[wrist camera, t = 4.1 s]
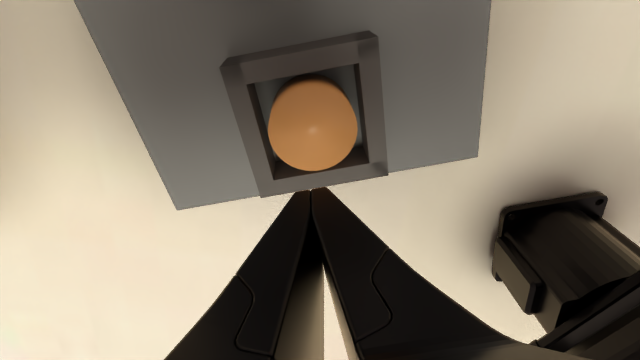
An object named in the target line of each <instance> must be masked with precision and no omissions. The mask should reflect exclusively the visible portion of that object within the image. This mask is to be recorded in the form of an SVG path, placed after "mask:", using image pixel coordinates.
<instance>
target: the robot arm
mask: <svg viewBox="0 0 640 360" xmlns="http://www.w3.org/2000/svg"><path fill="white" fill-rule="evenodd" d="M607 201H608V198H607V196H605V195H604V194H602V193H601V192H594V193H588V194H583V195H577V196H571V197H565V198H559V199H554V200H548V201H542V202H536V203H530V204H524V205H519V206H513V207H508V208H506V209H504V210H503V211H502V212H501V216H500V223H499V230H498V237H497V239H496V241H495V248H494V255H493V263H492V266H493V273H492V275H493V277H494V278H495V280H496V281H503V283H504V284H505V285H506V287H507V288H508V290H509V291H510V293H511V294H512V296H513V297H514V299H515V300H516V302H517V303H518V305H519V306H520V307H521V309H522V310H523V312H525V313H526V314H527V315H532V314H534V315H535V317H536V318H537V320H538V321H539V323H540V324H541V325H542V327H543V328H544V330H545V331H546V332H547V334H546V335H544V336H543V337H541V338H540V339H538V340H536V339H535V340H534V341H532V342H531V343H529V344H525V343H522V342H519V341H516V340H514V339H512V338H510V337H508V336H505V335H503V334H502V333H500V332H498V331H496V330H495V329H493V328H491V327H490V326H489V325H487V324H486V323H484V322H483V321H481V320H480V319H479V318H477V317H476V316H475V315H473V314H472V313H471V312H469V311H468V310H466V309H465V308H464V307H462V306H461V305H460V304H458V303H457V302H456V301H454V300H453V299H451V298H450V297H449V296H447V295H446V294H445V293H443V292H442V291H441V290H439V289H438V288H436V287H435V286H434V285H432V284H431V283H430V282H429V281H427V280H426V279H425V278H423V277H422V276H421V275H419V274H418V273H417V272H416V271H414V270H413V269H412V268H411V267H410V266H409V265H408V264H407V263H405V262H404V261H403V260H402V259H401V258H400V257H399V256H398V255H397V254H396V253H395V252H394V251H393V250H392V249H389V247H388V246H387V245H386V244H385V243H384V242H383V241H382V240H381V239H380V238H379V237H378V236H377V235H376V234H375V233H374V232H373V231H372V230H371V229H369V228H368V227H367V226H366V225H365V224H364V223H363V222H362V221H361V220H360V219H359V218H358V217H357V216H356V215H355V214H354V213H353V212H352V211H351V210H350V209H349V208H348V207H347V206H345V205H344V204H343V203H342V202H341V201H340V200H339V199H338V198H337V197H336V196H335V195H334V194H333V193H332V192H331V191H330V190H329V189H328V188H327V187H321V188H315V189H312V190H311V191H310V190H304V191H298V192H295V193H294V194H293V196H292V197H291V199H290V200H289V201H288V203H287V204H286V205H285V207H284V208H283V210H282V211H281V212H280V214H279V215H278V216H277V218H276V219H275V221H274V222H273V223H272V225H271V226H270V227H269V229H268V230H267V231H266V233H265V234H264V236H263V237H262V238H261V240H260V241H259V242H258V244H257V245H256V247H255V248H254V249H253V251H252V252H251V253H250V255H249V256H248V257H247V259H246V260H245V262H244V263H243V264H242V266H241V267H240V268H239V270H238V271H237V273H236V275H235V276H233V278H232V279H231V281H230V282H229V283H228V285H227V286H226V287H225V289H224V290H223V291H222V293H221V294H220V295H219V296H218V298H217V299H216V300H215V302H214V303H213V304H212V305H211V307H210V308H209V309H208V310H207V311H206V312H205V314H204V315H203V316H202V317H201V318H200V320H199V321H198V322H197V323H196V324H195V325H194V326H193V328H192V329H191V330H190V331H189V332H188V333H187V334H186V335H185V337H184V338H183V339H182V340H181V341H180V342H179V343H178V344H177V346H176V347H175V348H174V349H173V350H172V351H171V352H170V353H169V355H168V356H167V357H166V358H165V359H164V360H324V270H325V274H326V278H327V282H328V286H329V289H330V293H331V297H332V300H333V304H334V307H335V311H336V315H337V318H338V322H339V325H340V329H341V333H342V336H343V340H344V344H345V347H346V351H347V354H348V358H349V360H640V247H639V246H637V245H636V244H635V243H634V242H632V241H631V240H630V239H628V238H627V237H626V236H625V235H623V234H622V233H621V232H620V231H618V230H617V229H616V228H614V227H613V226H612V225H611V224H609V223H608V222H607V221H605V220H604V219H603V218H602V215H603V212H604V209H605V207H606V204H607ZM510 214H511V215H510ZM509 215H510V216H509ZM323 266H324V268H323Z"/></svg>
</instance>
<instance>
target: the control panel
mask: <svg viewBox="0 0 640 360" xmlns="http://www.w3.org/2000/svg"><path fill="white" fill-rule="evenodd" d="M74 2H75V4H76V6H77V8H78V10H79V12H80V14H81V16H82V18H83V20H84V22H85V24H86V26H87V28H88V30H89V33H90V35H91V37H92V39H93V41H94V43H95V45H96V47H97V49H98V51H99V53H100V55H101V57H102V59H103V61H104V63H105V65H106V67H107V69H108V71H109V73H110V75H111V77H112V79H113V81H114V83H115V85H116V87H117V89H118V92H119V94H120V96H121V98H122V100H123V102H124V104H125V106H126V108H127V110H128V112H129V114H130V116H131V118H132V120H133V122H134V124H135V126H136V128H137V130H138V132H139V134H140V136H141V138H142V140H143V142H144V144H145V146H146V149H147V151H148V153H149V155H150V157H151V159H152V161H153V163H154V165H155V167H156V169H157V171H158V173H159V175H160V177H161V179H162V181H163V183H164V185H165V187H166V189H167V191H168V193H169V195H170V197H171V199H172V201H173V203H174V205H175V208H176V210H183V209H188V208H194V207H200V206H205V205H211V204H216V203H222V202H228V201H233V200H239V199H245V198H250V197H256V196H260V197H261V198H263V197H269V196H275V195H280V194H286V193H291V192H297V191H303V190H308V189H314V188H320V187H325V186H331V185H337V184H342V183H348V182H353V181H359V180H365V179H370V178H376V177H382V176H387V175H388V173H391V172H397V171H402V170H408V169H413V168H419V167H425V166H430V165H436V164H442V163H447V162H453V161H459V160H464V159H470V158H475V157H478V148H479V136H480V124H481V113H482V101H483V89H484V78H485V66H486V55H487V43H488V31H489V20H490V8H491V0H74ZM307 74H316V75H321V76H325V77H327V78H329V79H331V80H333V81H335V82H336V83H337V84H338V85H339V86H340V87H341V88H342V89H343V90H344V92H345V93H346V95H347V97H348V99H349V102H350V104H351V106H352V109H353V111H354V113H355V116H356V120H357V128H358V130H357V137H356V141H355V144H354V146H353V148H352V150H351V151H350V152H349V154H348V155H347V156H346V157H345V158H344V159H343V160H342V161H341V162H339V163H338V164H336V165H334V166H332V167H330V168H327V169H323V170H318V171H306V170H301V169H297V168H294V167H292V166H290V165H288V164H287V163H285V162H284V161H283V160H282V159H280V157H279V156H278V155H277V154H276V153H275V151H274V150H273V148H272V146H271V143H270V140H269V136H268V123H269V118H270V113H271V108H272V103H273V100H274V97H275V96H276V94H277V92H278V91H279V89H280V88H281V87H282V86H283V85H284V84H285V83H287V82H288V81H289V80H291V79H293V78H295V77H298V76H301V75H307Z"/></svg>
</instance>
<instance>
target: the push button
mask: <svg viewBox="0 0 640 360" xmlns="http://www.w3.org/2000/svg"><path fill="white" fill-rule="evenodd" d="M357 130H358V128H357V120H356V116H355V113H354V111H353V109H352V106H351V104H350V102H349V99H348V97H347V95H346V93H345V92H344V90H343V89H342V88H341V87H340V86H339V85H338V84H337V83H336V82H335V81H333V80H331V79H329V78H327V77H325V76H321V75H316V74H307V75H301V76H298V77H295V78H293V79H291V80H289V81H288V82H287V83H285V84H284V85H283V86H282V87H281V88H280V89H279V91H278V92H277V94H276V96H275V97H274V100H273V103H272V108H271V113H270V118H269V123H268V136H269V140H270V143H271V146H272V148H273V150H274V151H275V153H276V154H277V155H278V156H279V157H280V159H282V160H283V161H284V162H285V163H287V164H288V165H290V166H292V167H294V168H297V169H301V170H306V171H318V170H323V169H327V168H330V167H332V166H334V165H336V164H338V163H339V162H341V161H342V160H343V159H344V158H345V157H346V156H347V155H348V154H349V152H350V151H351V150H352V148H353V146H354V144H355V141H356V137H357Z"/></svg>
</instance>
